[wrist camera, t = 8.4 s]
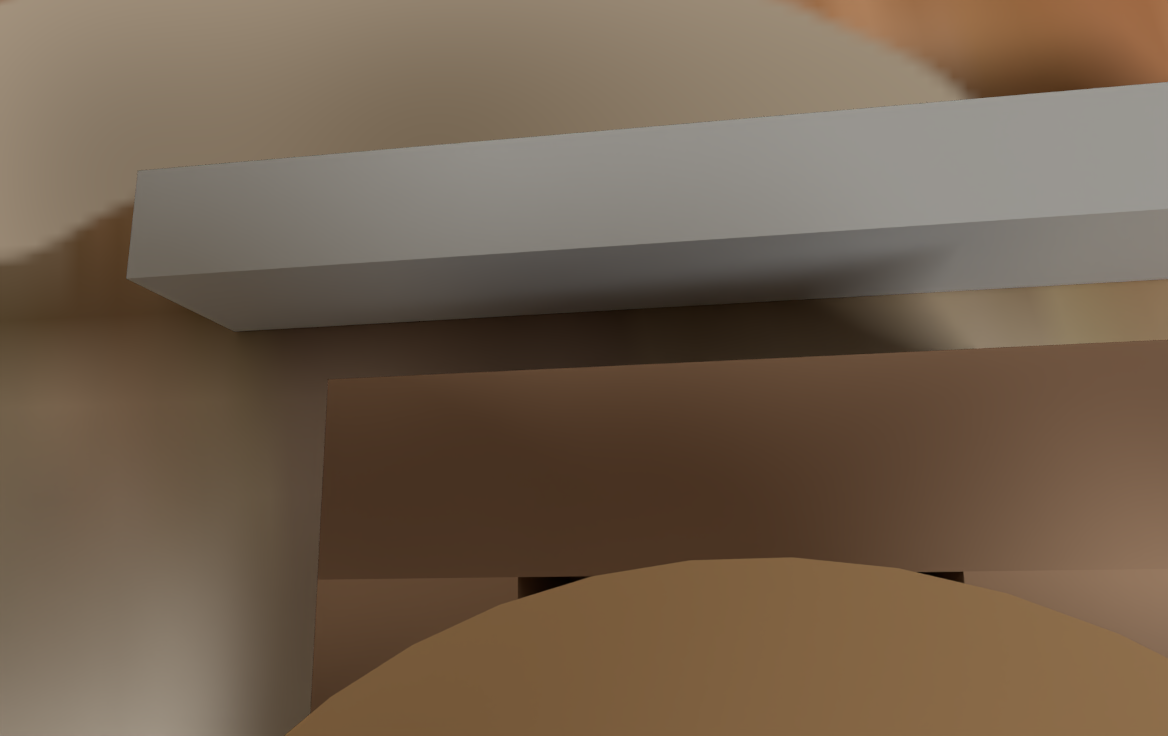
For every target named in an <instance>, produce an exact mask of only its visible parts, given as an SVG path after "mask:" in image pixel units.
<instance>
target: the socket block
mask: <svg viewBox="0 0 1168 736" xmlns="http://www.w3.org/2000/svg"><path fill="white" fill-rule="evenodd" d="M788 557H794V558H803V559H813V560H823V561H833V562H843V563H852V564H862V565H872V566H882V567H892V568H900V569H904V570H908V571H913V572H917V573H921V574H926V575H930V576H934V577H939V578H943V579H947V580H952V581H956V582H960V583H964V584H969V585H973V586H977V587H982V588H986V589H990V590H995V591H999V592H1003V593H1008V594H1010V595H1013V596H1016V597H1019V598H1021V599H1024V600H1027V601H1030V602H1032V603H1035V604H1038V605H1041V606H1043V607H1046V608H1049V609H1052V610H1054V611H1057V612H1060V613H1063V614H1065V615H1068V616H1071V617H1074V618H1076V619H1079V620H1082V621H1085V622H1088V623H1090V624H1093V625H1096V626H1099V627H1101V628H1104V629H1107V630H1110V631H1112V632H1115V633H1118V634H1120V635H1122V636H1124V637H1126V638H1128V639H1130V640H1132V641H1134V642H1136V643H1138V644H1140V645H1142V646H1144V647H1146V648H1148V649H1150V650H1152V651H1154V652H1156V653H1158V654H1160V655H1162V656H1164V657H1166V658H1168V340H1152V341H1130V342H1109V343H1088V344H1067V345H1045V346H1024V347H1003V348H982V349H961V350H939V351H918V352H897V353H876V354H855V355H833V356H812V357H791V358H770V359H749V360H727V361H706V362H685V363H664V364H643V365H621V366H600V367H579V368H558V369H536V370H515V371H494V372H473V373H452V374H430V375H409V376H388V377H367V378H346V379H328V390H327V409H326V428H325V447H324V466H323V485H322V504H321V522H320V541H319V560H318V579H317V598H316V617H315V636H314V655H313V674H312V693H311V712H310V714H311V713H312V712H313V711H314V710H316V709H317V708H318V707H319V706H320V705H322V704H323V703H324V702H325V701H326V700H328V699H329V698H330V697H331V696H333V695H335V694H336V693H338V692H339V691H341V690H342V689H344V688H346V687H347V686H349V685H350V684H352V683H353V682H355V681H357V680H358V679H360V678H361V677H363V676H364V675H366V674H368V673H369V672H371V671H372V670H374V669H376V668H377V667H379V666H380V665H382V664H383V663H385V662H387V661H388V660H390V659H391V658H393V657H394V656H396V655H398V654H399V653H401V652H402V651H404V650H405V649H407V648H409V647H410V646H412V645H414V644H416V643H418V642H420V641H422V640H424V639H427V638H429V637H431V636H433V635H435V634H438V633H440V632H442V631H444V630H446V629H448V628H450V627H453V626H455V625H457V624H459V623H461V622H463V621H466V620H468V619H470V618H472V617H474V616H476V615H479V614H481V613H483V612H485V611H487V610H489V609H492V608H494V607H496V606H498V605H500V604H504V603H507V602H510V601H514V600H517V599H520V598H523V597H527V596H530V595H533V594H536V593H540V592H543V591H546V590H549V589H553V588H556V587H559V586H562V585H566V584H569V583H572V582H576V581H579V580H582V579H585V578H589V577H592V576H597V575H603V574H609V573H616V572H622V571H628V570H634V569H640V568H646V567H652V566H658V565H665V564H671V563H677V562H683V561H689V560H718V559H753V558H788Z"/></svg>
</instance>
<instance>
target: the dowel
mask: <svg viewBox="0 0 1168 736" xmlns="http://www.w3.org/2000/svg"><path fill="white" fill-rule="evenodd" d="M285 736H1168V658H1166V657H1164V656H1162V655H1160V654H1158V653H1156V652H1154V651H1152V650H1150V649H1148V648H1146V647H1144V646H1142V645H1140V644H1138V643H1136V642H1134V641H1132V640H1130V639H1128V638H1126V637H1124V636H1122V635H1120V634H1118V633H1115V632H1112V631H1110V630H1107V629H1104V628H1101V627H1099V626H1096V625H1093V624H1090V623H1088V622H1085V621H1082V620H1079V619H1076V618H1074V617H1071V616H1068V615H1065V614H1063V613H1060V612H1057V611H1054V610H1052V609H1049V608H1046V607H1043V606H1041V605H1038V604H1035V603H1032V602H1030V601H1027V600H1024V599H1021V598H1019V597H1016V596H1013V595H1010V594H1008V593H1003V592H999V591H995V590H990V589H986V588H982V587H977V586H973V585H969V584H964V583H960V582H956V581H952V580H947V579H943V578H939V577H934V576H930V575H926V574H921V573H917V572H913V571H908V570H904V569H900V568H892V567H882V566H872V565H862V564H852V563H843V562H833V561H823V560H813V559H803V558H794V557H788V558H753V559H718V560H689V561H683V562H677V563H671V564H665V565H658V566H652V567H646V568H640V569H634V570H628V571H622V572H616V573H609V574H603V575H597V576H592V577H589V578H585V579H582V580H579V581H576V582H572V583H569V584H566V585H562V586H559V587H556V588H553V589H549V590H546V591H543V592H540V593H536V594H533V595H530V596H527V597H523V598H520V599H517V600H514V601H510V602H507V603H504V604H500V605H498V606H496V607H494V608H492V609H489V610H487V611H485V612H483V613H481V614H479V615H476V616H474V617H472V618H470V619H468V620H466V621H463V622H461V623H459V624H457V625H455V626H453V627H450V628H448V629H446V630H444V631H442V632H440V633H438V634H435V635H433V636H431V637H429V638H427V639H424V640H422V641H420V642H418V643H416V644H414V645H412V646H410V647H409V648H407V649H405V650H404V651H402V652H401V653H399V654H398V655H396V656H394V657H393V658H391V659H390V660H388V661H387V662H385V663H383V664H382V665H380V666H379V667H377V668H376V669H374V670H372V671H371V672H369V673H368V674H366V675H364V676H363V677H361V678H360V679H358V680H357V681H355V682H353V683H352V684H350V685H349V686H347V687H346V688H344V689H342V690H341V691H339V692H338V693H336V694H335V695H333V696H331V697H330V698H329V699H328V700H326V701H325V702H324V703H323V704H322V705H320V706H319V707H318V708H317V709H316V710H314V711H313V712H312V713H311V714H310V715H308V716H307V717H306V718H305V719H304V720H302V721H301V722H300V723H299V724H298V725H296V726H295V727H294V728H293V729H292V730H290V731H289V732H288V733H287V734H286V735H285Z"/></svg>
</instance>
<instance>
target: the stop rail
mask: <svg viewBox="0 0 1168 736" xmlns="http://www.w3.org/2000/svg"><path fill="white" fill-rule="evenodd" d="M126 279H128V280H130V281H132V282H134V283H136V284H138V285H140V286H142V287H144V288H146V289H149V290H151V291H153V292H155V293H157V294H159V295H161V296H163V297H165V298H167V299H169V300H171V301H173V302H175V303H177V304H179V305H181V306H183V307H185V308H187V309H189V310H191V311H193V312H195V313H197V314H200V315H202V316H204V317H206V318H208V319H210V320H212V321H214V322H216V323H218V324H220V325H222V326H224V327H226V328H228V329H230V330H232V331H234V332H235V331H253V330H270V329H288V328H306V327H324V326H342V325H359V324H377V323H395V322H413V321H430V320H448V319H466V318H484V317H501V316H519V315H537V314H555V313H572V312H590V311H608V310H626V309H643V308H661V307H679V306H697V305H714V304H732V303H750V302H768V301H786V300H803V299H821V298H839V297H857V296H874V295H892V294H910V293H928V292H945V291H963V290H981V289H999V288H1016V287H1034V286H1052V285H1070V284H1087V283H1105V282H1123V281H1141V280H1158V279H1168V82H1163V83H1152V84H1140V85H1128V86H1117V87H1105V88H1093V89H1082V90H1070V91H1058V92H1047V93H1035V94H1024V95H1012V96H1000V97H989V98H977V99H965V100H954V101H942V102H931V103H919V104H908V105H896V106H884V107H872V108H862V109H849V110H837V111H826V112H814V113H803V114H791V115H779V116H768V117H756V118H744V119H733V120H721V121H709V122H698V123H686V124H675V125H663V126H651V127H640V128H628V129H616V130H605V131H594V132H582V133H570V134H559V135H548V136H536V137H524V138H512V139H500V140H489V141H477V142H465V143H454V144H442V145H432V146H431V145H430V146H420V147H407V148H397V149H396V148H395V149H384V150H373V151H361V152H349V153H338V154H326V155H314V156H302V157H291V158H279V159H269V160H268V159H267V160H257V161H244V162H233V163H221V164H209V165H198V166H187V167H176V168H175V167H174V168H164V169H152V170H140V171H138V174H137V184H136V192H135V202H134V211H133V220H132V230H131V239H130V248H129V258H128V267H127V276H126Z"/></svg>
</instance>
